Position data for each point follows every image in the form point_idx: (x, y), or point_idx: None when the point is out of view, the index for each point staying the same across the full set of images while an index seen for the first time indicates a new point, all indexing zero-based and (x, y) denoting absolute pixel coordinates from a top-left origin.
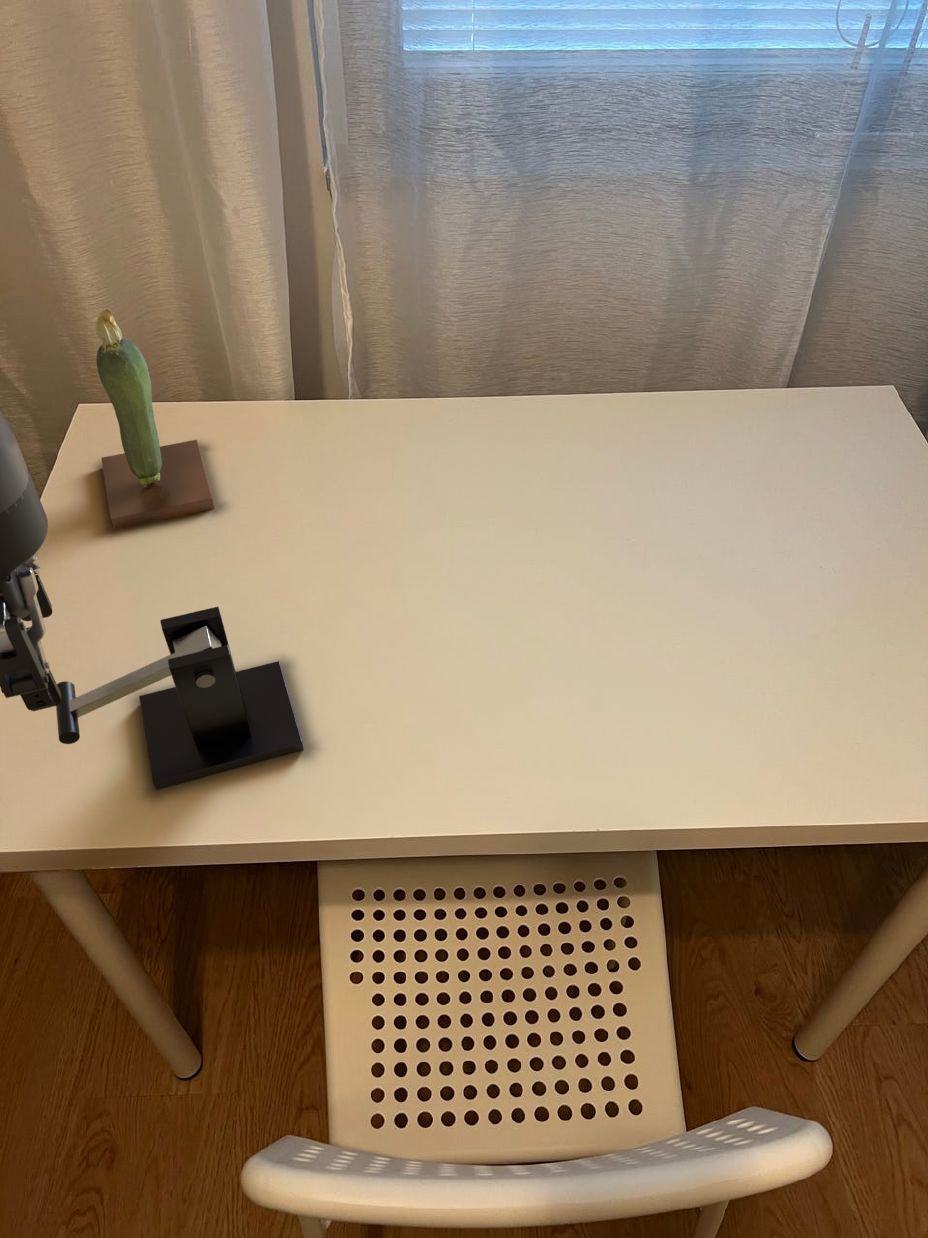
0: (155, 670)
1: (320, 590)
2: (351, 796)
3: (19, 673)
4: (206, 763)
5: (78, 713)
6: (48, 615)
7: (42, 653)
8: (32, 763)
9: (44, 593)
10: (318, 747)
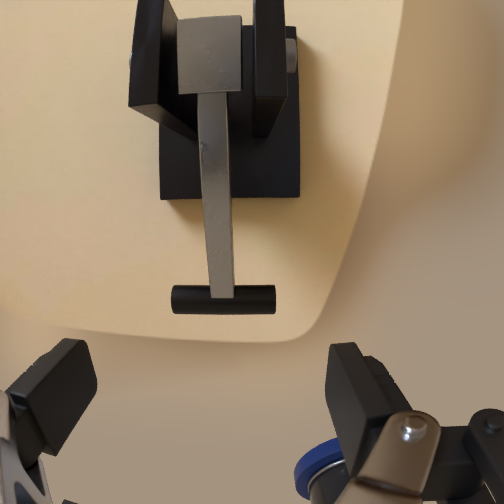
0: (221, 144)
1: (80, 3)
2: (361, 14)
3: (461, 487)
4: (291, 130)
5: (234, 284)
6: (85, 346)
7: (407, 455)
8: (215, 321)
9: (50, 372)
10: (293, 20)
